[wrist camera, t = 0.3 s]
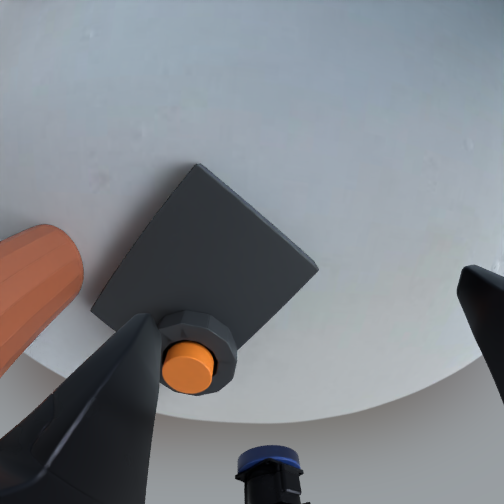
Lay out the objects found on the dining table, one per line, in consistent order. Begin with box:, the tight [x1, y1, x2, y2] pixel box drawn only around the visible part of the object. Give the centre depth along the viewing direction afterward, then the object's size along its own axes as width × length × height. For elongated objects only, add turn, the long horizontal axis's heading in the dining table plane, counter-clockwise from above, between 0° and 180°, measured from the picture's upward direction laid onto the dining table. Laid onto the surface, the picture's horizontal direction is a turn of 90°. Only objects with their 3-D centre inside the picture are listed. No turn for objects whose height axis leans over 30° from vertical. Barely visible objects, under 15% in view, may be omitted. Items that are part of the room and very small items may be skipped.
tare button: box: [162, 341, 214, 394], centre depth 19 cm, size 3×3×2 cm
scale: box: [90, 164, 319, 396], centre depth 20 cm, size 13×11×4 cm
